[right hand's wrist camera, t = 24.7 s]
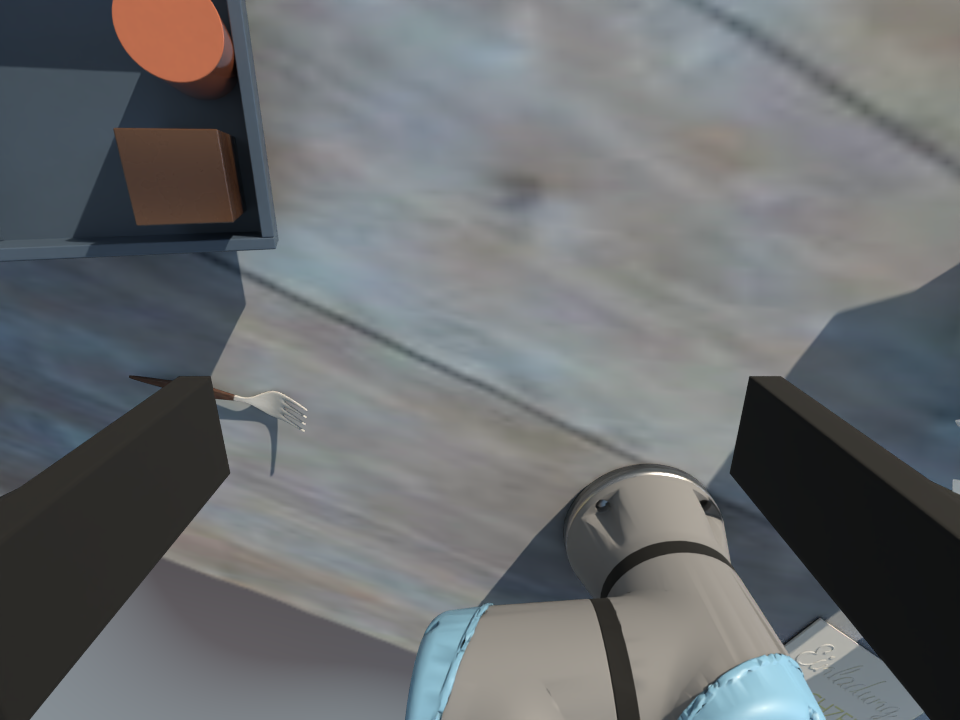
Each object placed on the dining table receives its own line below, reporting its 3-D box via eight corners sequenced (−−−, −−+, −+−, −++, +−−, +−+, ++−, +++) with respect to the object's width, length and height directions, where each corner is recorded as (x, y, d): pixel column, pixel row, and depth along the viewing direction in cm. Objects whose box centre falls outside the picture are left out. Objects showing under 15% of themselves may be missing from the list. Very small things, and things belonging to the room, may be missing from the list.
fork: (132, 360, 45) (117, 369, 43) (314, 398, 46) (307, 408, 44) (133, 387, 46) (118, 396, 44) (311, 423, 47) (304, 434, 45)
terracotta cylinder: (245, 102, 35) (231, 85, 28) (163, 98, 34) (124, 79, 26) (234, 17, 33) (215, -26, 26) (146, 9, 32) (99, -39, 24)
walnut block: (247, 210, 37) (233, 222, 30) (170, 213, 36) (136, 226, 28) (234, 136, 36) (217, 128, 28) (153, 135, 34) (112, 127, 27)
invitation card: (719, 697, 59) (821, 619, 55) (718, 695, 60) (819, 617, 55) (839, 768, 64) (941, 701, 60) (837, 766, 64) (939, 699, 60)
